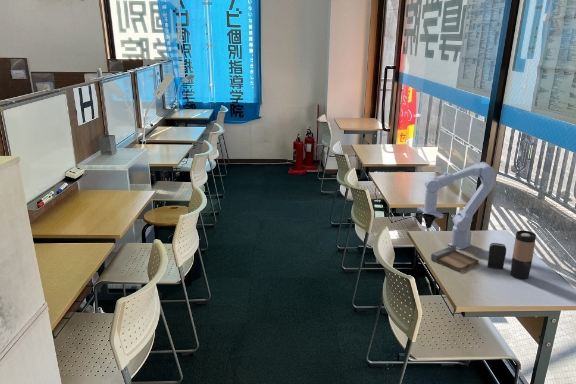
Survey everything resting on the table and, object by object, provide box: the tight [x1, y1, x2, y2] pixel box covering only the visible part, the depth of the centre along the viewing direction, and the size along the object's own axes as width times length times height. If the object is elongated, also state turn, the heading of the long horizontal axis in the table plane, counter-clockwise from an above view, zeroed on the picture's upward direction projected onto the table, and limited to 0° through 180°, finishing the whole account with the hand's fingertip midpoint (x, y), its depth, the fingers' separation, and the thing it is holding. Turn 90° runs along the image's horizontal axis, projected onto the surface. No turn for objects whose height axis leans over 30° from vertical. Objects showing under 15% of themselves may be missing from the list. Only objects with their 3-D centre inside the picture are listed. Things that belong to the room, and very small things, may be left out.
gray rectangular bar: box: [430, 246, 454, 263], centre depth 212 cm, size 13×3×3 cm, turn 124°
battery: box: [486, 242, 507, 270], centre depth 201 cm, size 7×4×11 cm, turn 69°
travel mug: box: [510, 229, 537, 280], centre depth 191 cm, size 8×8×20 cm
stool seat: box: [436, 245, 479, 273], centre depth 207 cm, size 15×15×4 cm
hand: (428, 227), depth 224 cm, fingers closed
